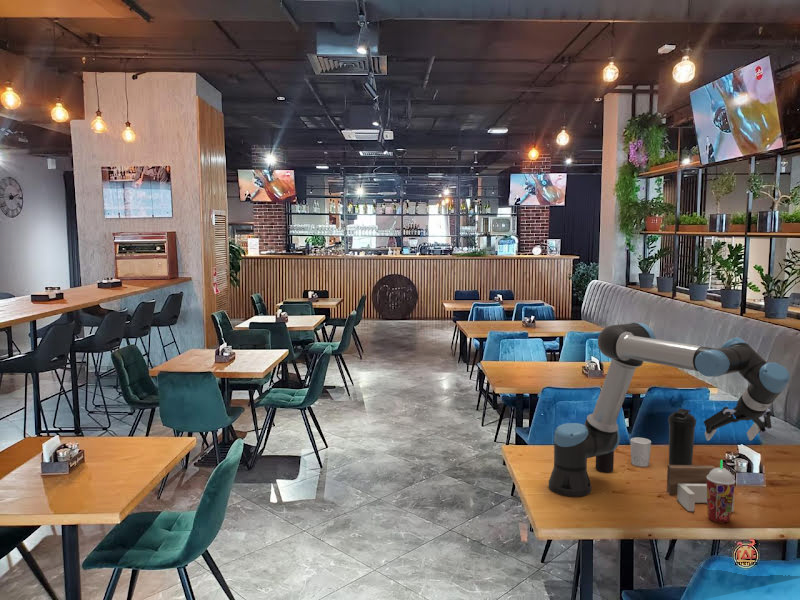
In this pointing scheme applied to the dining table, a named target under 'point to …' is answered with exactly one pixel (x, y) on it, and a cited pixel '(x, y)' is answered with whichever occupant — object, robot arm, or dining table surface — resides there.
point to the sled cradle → (693, 495)
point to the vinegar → (605, 462)
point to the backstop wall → (686, 476)
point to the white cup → (640, 451)
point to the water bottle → (681, 437)
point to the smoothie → (720, 494)
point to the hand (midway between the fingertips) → (727, 436)
